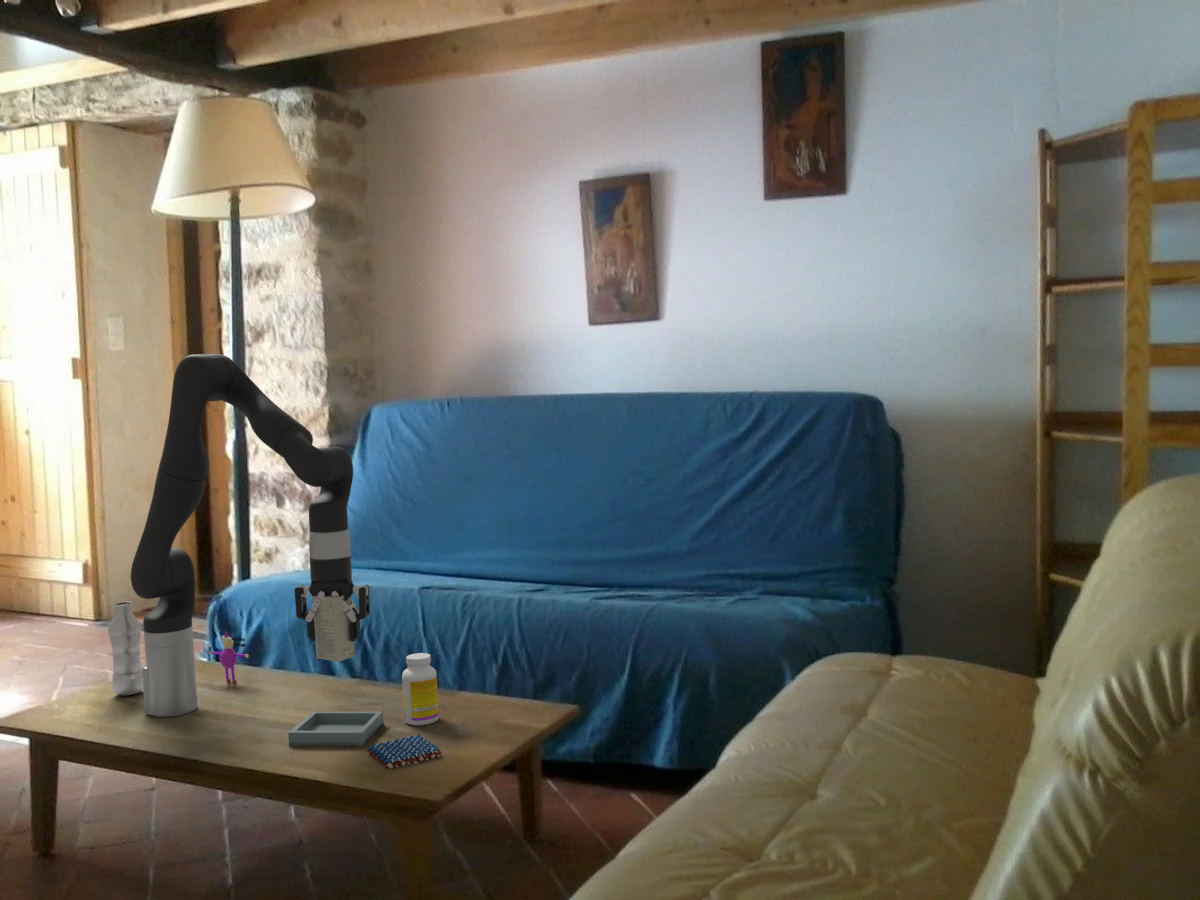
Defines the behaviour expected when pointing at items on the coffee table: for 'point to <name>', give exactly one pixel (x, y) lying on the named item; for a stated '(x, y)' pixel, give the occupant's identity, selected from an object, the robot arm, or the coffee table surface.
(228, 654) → the wizard figurine
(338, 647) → the skincare box
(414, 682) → the supplement bottle
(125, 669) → the plastic bottle
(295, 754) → the coffee table surface
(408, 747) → the woven mat
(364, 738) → the tray
